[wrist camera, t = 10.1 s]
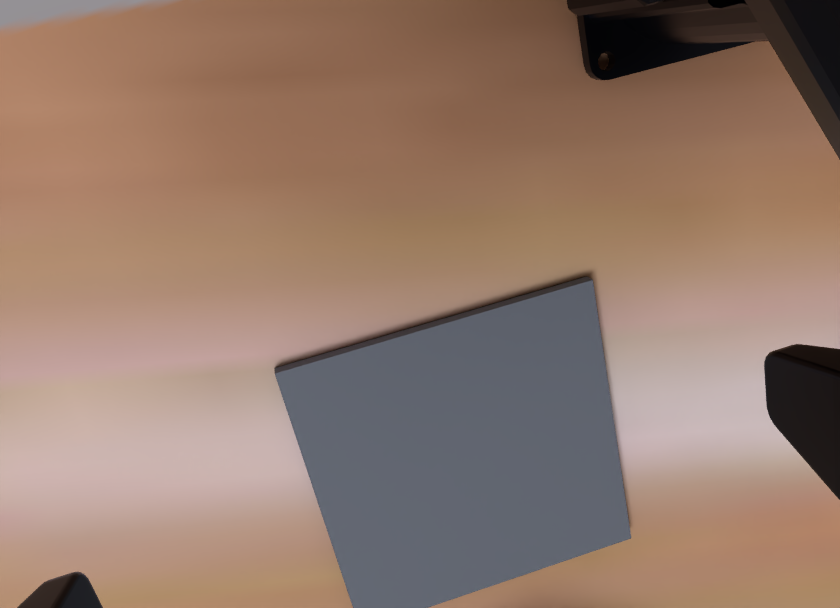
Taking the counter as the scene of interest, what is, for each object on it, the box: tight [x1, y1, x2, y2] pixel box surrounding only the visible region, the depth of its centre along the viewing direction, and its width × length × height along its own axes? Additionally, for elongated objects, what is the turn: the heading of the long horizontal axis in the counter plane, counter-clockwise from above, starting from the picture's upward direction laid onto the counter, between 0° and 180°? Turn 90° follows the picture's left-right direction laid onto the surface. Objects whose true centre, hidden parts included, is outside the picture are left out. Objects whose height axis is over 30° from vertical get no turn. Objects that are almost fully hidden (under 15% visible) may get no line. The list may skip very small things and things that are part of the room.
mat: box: [275, 277, 631, 608], centre depth 24 cm, size 10×10×1 cm
